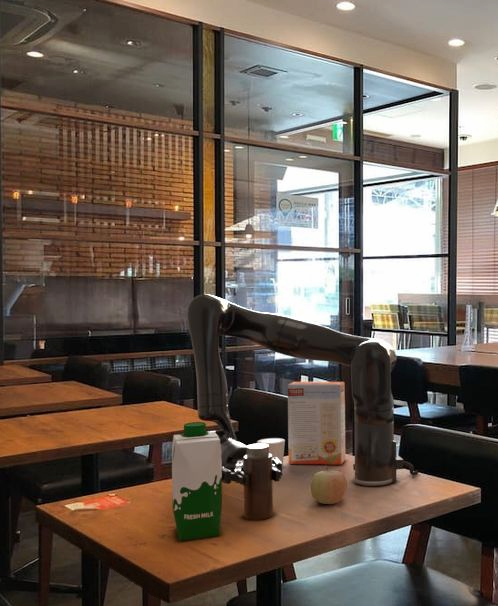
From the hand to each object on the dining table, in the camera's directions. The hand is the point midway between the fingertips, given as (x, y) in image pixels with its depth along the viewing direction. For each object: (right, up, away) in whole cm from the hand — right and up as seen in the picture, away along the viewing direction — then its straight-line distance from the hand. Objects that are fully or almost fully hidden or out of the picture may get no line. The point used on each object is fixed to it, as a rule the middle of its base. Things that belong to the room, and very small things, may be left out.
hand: (262, 478), depth 139 cm
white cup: (-7, -7, +39) cm, 41 cm away
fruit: (+12, -8, +11) cm, 18 cm away
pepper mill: (-1, -8, +2) cm, 8 cm away
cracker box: (+4, -7, +45) cm, 46 cm away
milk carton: (-11, -9, -7) cm, 15 cm away
